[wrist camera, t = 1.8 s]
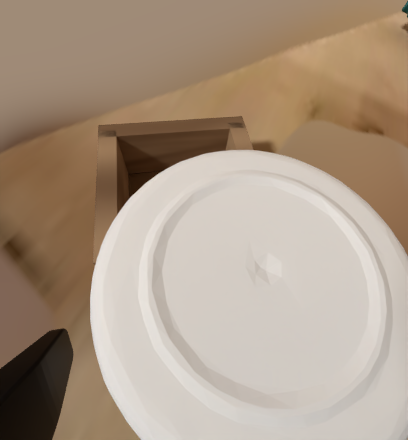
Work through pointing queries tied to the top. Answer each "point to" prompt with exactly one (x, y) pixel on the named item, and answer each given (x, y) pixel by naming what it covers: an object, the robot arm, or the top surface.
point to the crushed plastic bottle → (405, 9)
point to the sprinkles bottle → (252, 306)
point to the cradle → (153, 156)
